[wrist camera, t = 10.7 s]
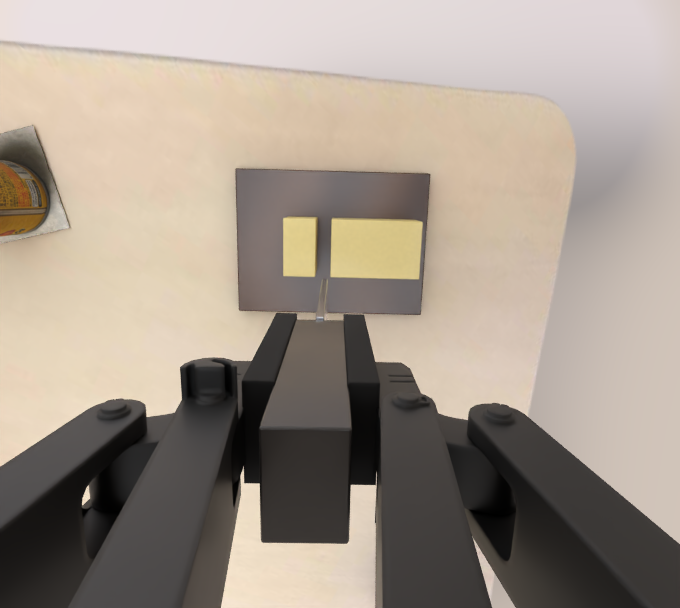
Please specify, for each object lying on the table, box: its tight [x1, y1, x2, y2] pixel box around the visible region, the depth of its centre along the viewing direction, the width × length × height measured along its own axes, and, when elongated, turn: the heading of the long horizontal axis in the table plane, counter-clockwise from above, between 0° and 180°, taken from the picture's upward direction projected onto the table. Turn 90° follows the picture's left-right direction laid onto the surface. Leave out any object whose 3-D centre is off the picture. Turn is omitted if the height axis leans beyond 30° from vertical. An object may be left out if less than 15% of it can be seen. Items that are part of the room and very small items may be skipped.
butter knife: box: [259, 279, 352, 544], centre depth 17 cm, size 2×3×16 cm, turn 179°
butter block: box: [330, 218, 423, 280], centre depth 37 cm, size 7×4×4 cm, turn 88°
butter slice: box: [283, 216, 318, 277], centre depth 37 cm, size 2×4×4 cm, turn 179°
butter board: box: [236, 168, 430, 315], centre depth 39 cm, size 16×12×1 cm
